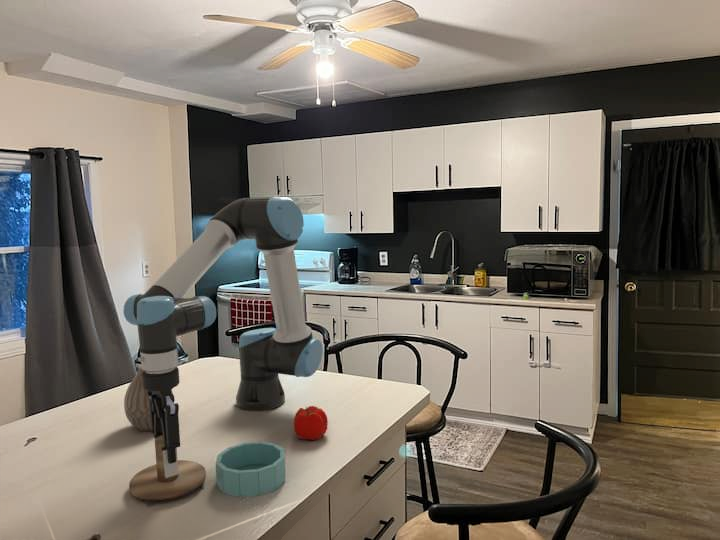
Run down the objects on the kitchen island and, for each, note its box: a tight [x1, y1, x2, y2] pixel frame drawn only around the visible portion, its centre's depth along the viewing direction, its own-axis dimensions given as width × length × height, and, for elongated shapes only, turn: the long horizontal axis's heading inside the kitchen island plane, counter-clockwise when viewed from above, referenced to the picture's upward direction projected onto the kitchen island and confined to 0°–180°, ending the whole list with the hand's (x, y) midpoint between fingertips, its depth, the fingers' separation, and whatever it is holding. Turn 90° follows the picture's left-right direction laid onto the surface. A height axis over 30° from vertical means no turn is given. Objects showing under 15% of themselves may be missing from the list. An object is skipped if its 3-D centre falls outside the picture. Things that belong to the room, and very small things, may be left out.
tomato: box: [293, 405, 329, 441], centre depth 149 cm, size 9×9×8 cm
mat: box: [141, 484, 205, 508], centre depth 123 cm, size 12×12×1 cm
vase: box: [123, 365, 174, 432], centre depth 157 cm, size 13×13×18 cm
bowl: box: [215, 441, 287, 498], centre depth 125 cm, size 15×15×6 cm
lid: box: [128, 435, 207, 500], centre depth 123 cm, size 16×16×10 cm
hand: (167, 470), depth 123 cm, fingers closed on lid, 4 cm apart
